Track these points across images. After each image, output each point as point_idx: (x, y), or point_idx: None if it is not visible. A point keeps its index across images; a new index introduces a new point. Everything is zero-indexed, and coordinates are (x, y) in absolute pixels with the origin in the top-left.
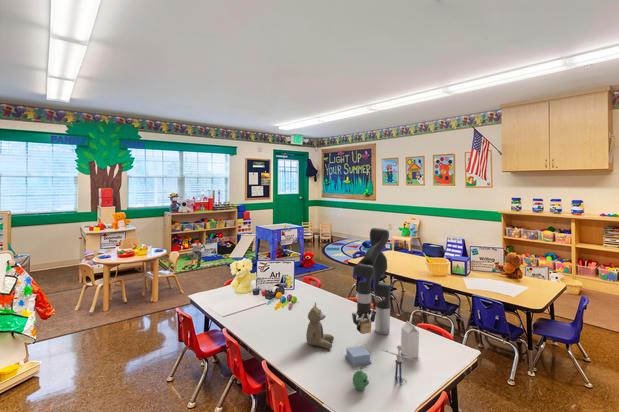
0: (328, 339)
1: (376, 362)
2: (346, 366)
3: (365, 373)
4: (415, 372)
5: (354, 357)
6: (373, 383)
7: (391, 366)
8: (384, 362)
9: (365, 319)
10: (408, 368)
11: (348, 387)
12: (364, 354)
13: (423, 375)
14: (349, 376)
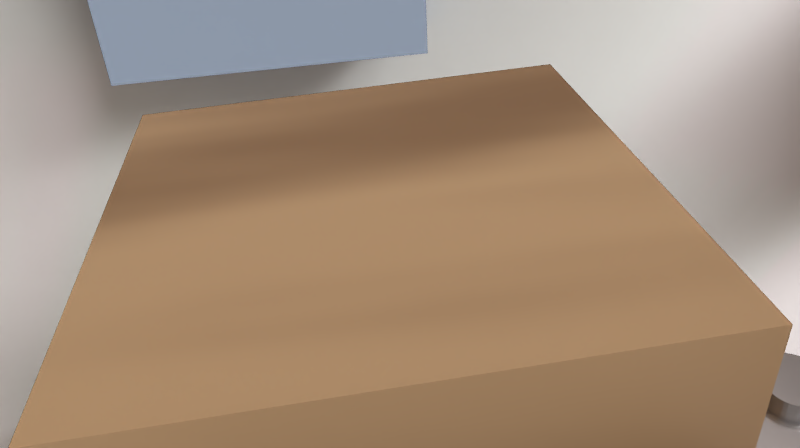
0: None
1: (495, 16)
2: (21, 30)
3: None
4: (771, 264)
5: (129, 79)
6: None
7: (622, 135)
8: (596, 37)
9: (671, 417)
10: (764, 197)
11: (3, 395)
12: (328, 42)
13: (797, 310)
14: (38, 242)
